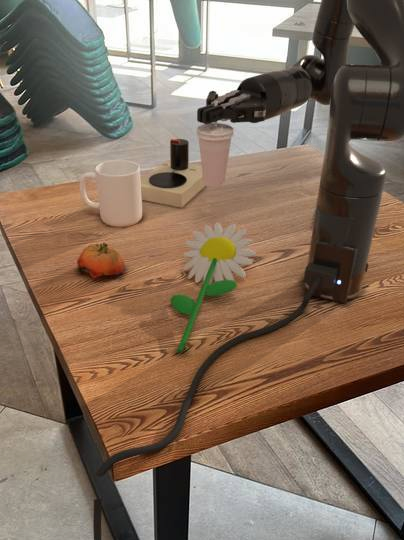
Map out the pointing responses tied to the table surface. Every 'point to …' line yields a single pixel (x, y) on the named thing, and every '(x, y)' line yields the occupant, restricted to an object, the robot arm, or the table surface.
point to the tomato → (101, 260)
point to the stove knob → (179, 154)
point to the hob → (173, 195)
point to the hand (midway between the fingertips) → (201, 116)
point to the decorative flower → (212, 267)
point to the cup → (116, 192)
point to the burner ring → (167, 180)
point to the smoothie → (214, 151)
